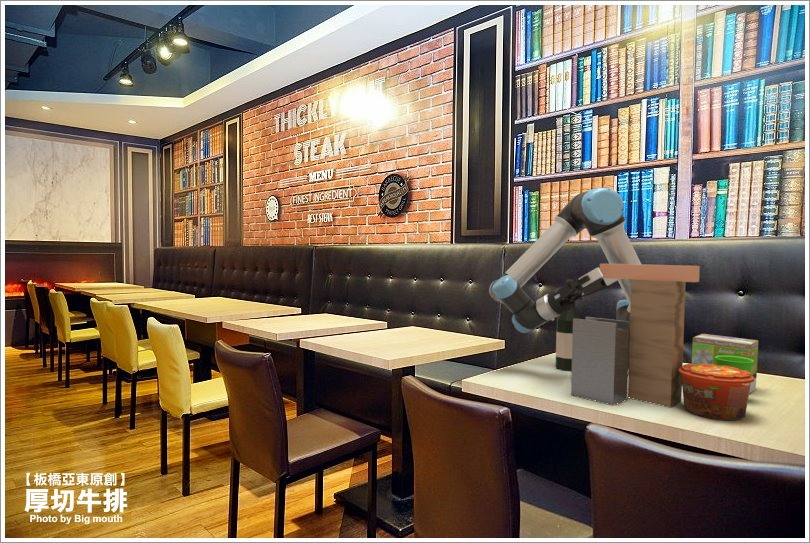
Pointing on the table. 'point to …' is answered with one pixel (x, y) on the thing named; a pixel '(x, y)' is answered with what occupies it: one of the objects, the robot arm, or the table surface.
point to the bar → (651, 272)
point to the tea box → (724, 350)
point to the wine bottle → (565, 338)
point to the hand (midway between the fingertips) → (612, 271)
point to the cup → (735, 362)
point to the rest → (600, 359)
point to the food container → (715, 390)
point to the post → (656, 341)
